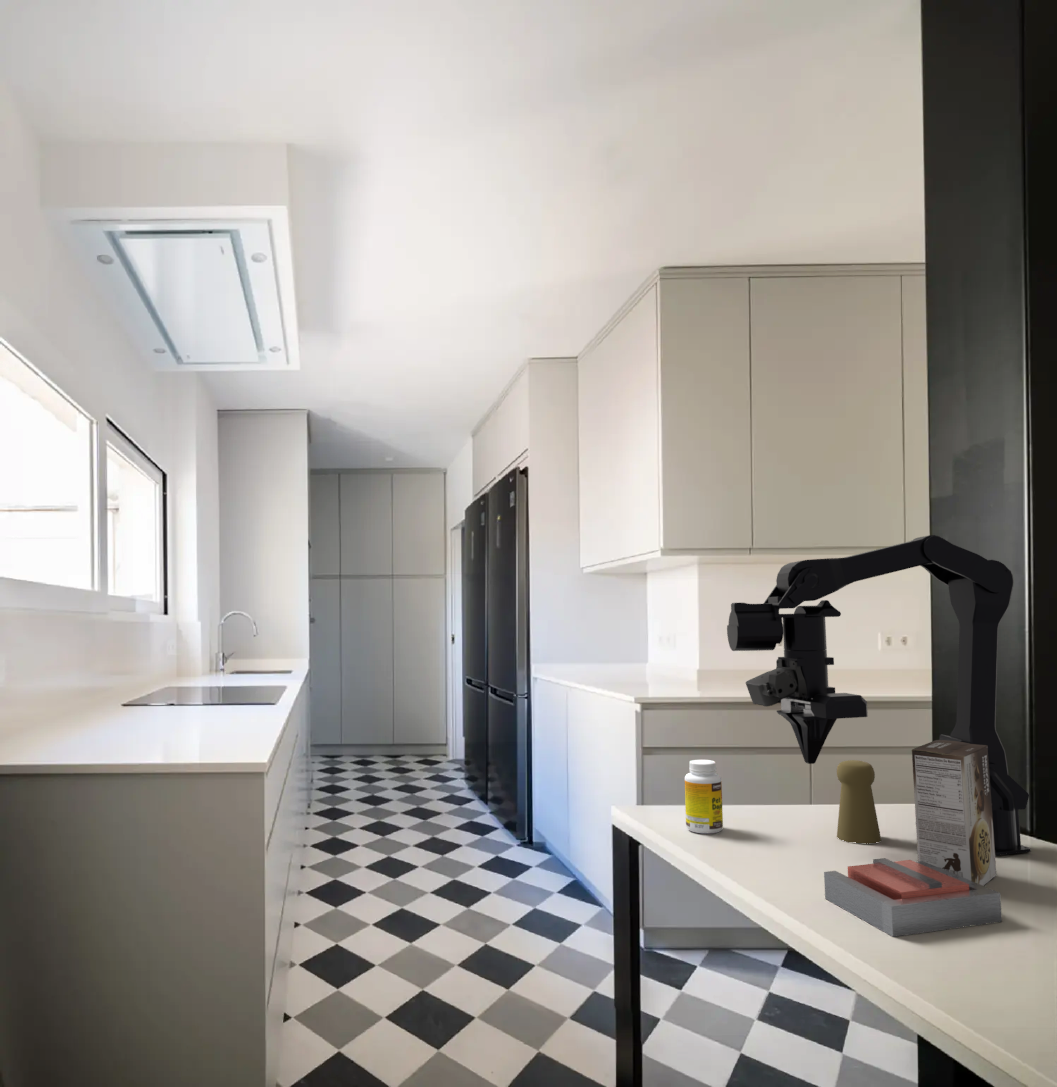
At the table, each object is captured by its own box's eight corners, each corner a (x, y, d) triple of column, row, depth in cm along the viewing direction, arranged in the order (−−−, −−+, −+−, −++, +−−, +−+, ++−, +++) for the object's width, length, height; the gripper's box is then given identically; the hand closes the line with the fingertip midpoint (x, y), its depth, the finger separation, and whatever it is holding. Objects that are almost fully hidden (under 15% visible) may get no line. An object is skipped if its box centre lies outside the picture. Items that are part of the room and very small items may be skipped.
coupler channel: (924, 886, 97) (922, 860, 97) (1001, 921, 86) (1000, 892, 86) (825, 898, 94) (823, 871, 94) (892, 936, 83) (891, 906, 83)
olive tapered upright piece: (885, 844, 114) (881, 765, 115) (840, 843, 116) (836, 764, 116) (876, 833, 120) (872, 757, 121) (833, 831, 121) (829, 757, 122)
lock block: (911, 894, 96) (909, 855, 96) (971, 922, 87) (968, 879, 87) (849, 902, 93) (847, 861, 94) (903, 931, 85) (901, 887, 85)
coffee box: (943, 865, 105) (935, 738, 106) (998, 876, 101) (990, 743, 102) (916, 882, 99) (909, 747, 100) (974, 895, 94) (965, 753, 95)
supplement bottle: (716, 836, 120) (714, 766, 121) (680, 831, 123) (678, 763, 124) (728, 827, 125) (725, 759, 126) (693, 823, 128) (691, 757, 128)
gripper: (721, 648, 121) (724, 755, 120) (791, 654, 103) (796, 780, 102) (787, 646, 124) (792, 751, 122) (867, 652, 106) (873, 774, 104)
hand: (810, 763), depth 113 cm, fingers closed
